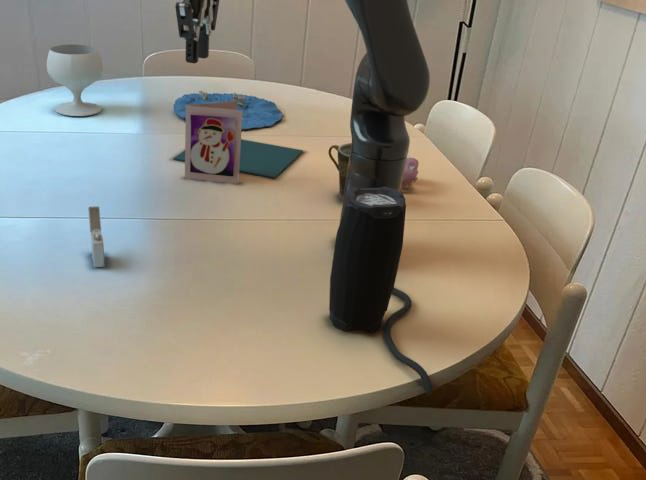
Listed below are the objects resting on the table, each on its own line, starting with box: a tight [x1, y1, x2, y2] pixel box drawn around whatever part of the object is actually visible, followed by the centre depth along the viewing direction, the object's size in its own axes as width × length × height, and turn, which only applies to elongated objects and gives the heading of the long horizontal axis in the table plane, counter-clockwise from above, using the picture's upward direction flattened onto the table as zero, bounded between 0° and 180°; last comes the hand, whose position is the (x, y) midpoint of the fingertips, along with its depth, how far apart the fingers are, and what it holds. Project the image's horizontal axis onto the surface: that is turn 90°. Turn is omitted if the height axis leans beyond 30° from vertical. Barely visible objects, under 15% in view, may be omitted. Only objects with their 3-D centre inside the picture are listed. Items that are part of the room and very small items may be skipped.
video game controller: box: [401, 155, 419, 190], centre depth 151 cm, size 10×5×7 cm, turn 168°
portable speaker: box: [328, 187, 407, 333], centre depth 100 cm, size 9×9×20 cm
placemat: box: [173, 138, 304, 180], centre depth 163 cm, size 20×24×1 cm
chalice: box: [46, 44, 104, 117], centre depth 182 cm, size 14×14×15 cm
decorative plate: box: [173, 90, 283, 130], centre depth 190 cm, size 30×30×5 cm
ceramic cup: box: [328, 142, 352, 202], centre depth 143 cm, size 13×10×10 cm
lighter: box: [87, 206, 106, 268], centre depth 116 cm, size 7×2×8 cm, turn 13°
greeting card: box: [184, 101, 243, 185], centre depth 148 cm, size 11×7×15 cm, turn 80°
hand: (197, 59), depth 130 cm, fingers open, 4 cm apart
